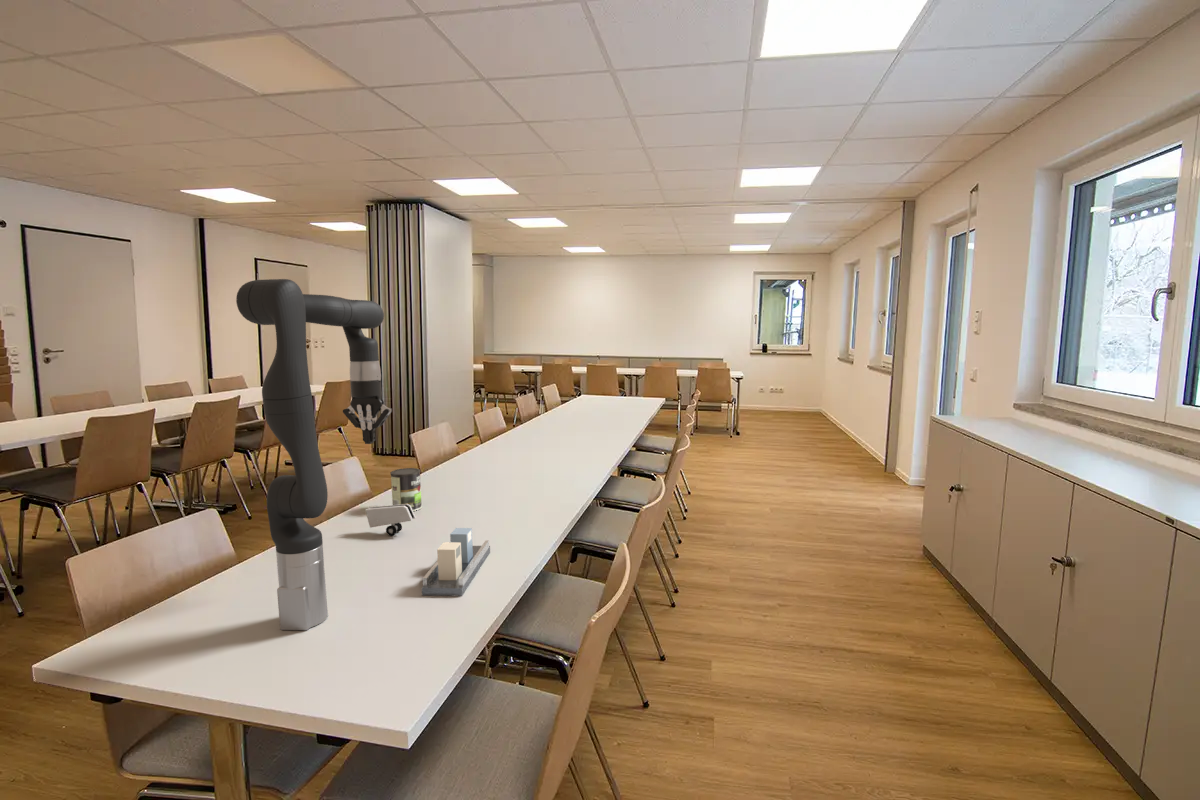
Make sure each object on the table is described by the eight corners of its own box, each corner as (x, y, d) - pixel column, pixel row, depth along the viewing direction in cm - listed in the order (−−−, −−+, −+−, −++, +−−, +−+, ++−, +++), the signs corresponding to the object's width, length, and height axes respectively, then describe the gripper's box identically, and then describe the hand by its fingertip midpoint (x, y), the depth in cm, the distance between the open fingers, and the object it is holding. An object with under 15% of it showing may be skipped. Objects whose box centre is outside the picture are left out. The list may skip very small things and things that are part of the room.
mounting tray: (462, 596, 142) (461, 580, 141) (421, 595, 142) (421, 579, 142) (490, 552, 169) (489, 539, 169) (456, 552, 170) (456, 538, 169)
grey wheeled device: (371, 539, 185) (413, 532, 182) (364, 509, 184) (406, 502, 181) (378, 534, 189) (419, 528, 186) (371, 506, 188) (412, 498, 185)
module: (467, 562, 157) (466, 534, 156) (451, 562, 157) (450, 534, 156) (473, 555, 162) (472, 528, 161) (456, 555, 162) (455, 527, 161)
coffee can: (426, 504, 217) (425, 468, 215) (413, 513, 206) (411, 474, 205) (401, 504, 218) (399, 467, 216) (387, 512, 208) (384, 474, 206)
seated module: (456, 580, 146) (455, 549, 145) (438, 580, 146) (437, 549, 145) (462, 572, 151) (461, 542, 150) (444, 571, 151) (443, 542, 150)
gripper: (333, 379, 148) (338, 446, 150) (384, 379, 148) (387, 446, 150) (348, 377, 156) (352, 440, 158) (396, 377, 155) (399, 440, 157)
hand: (369, 443), depth 154 cm, fingers closed
